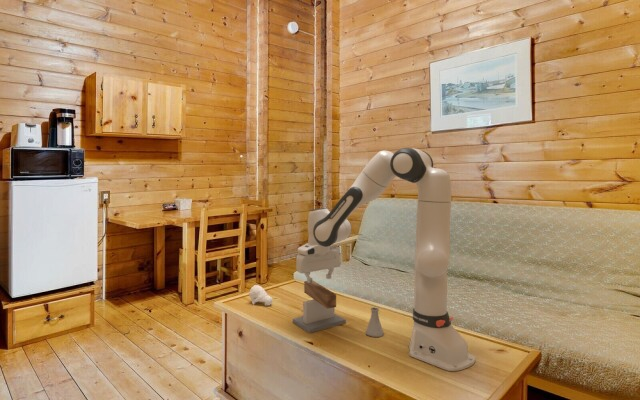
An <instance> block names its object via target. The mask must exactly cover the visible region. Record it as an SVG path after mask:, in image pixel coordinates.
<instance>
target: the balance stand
mask: <svg viewBox="0 0 640 400" xmlns="http://www.w3.org/2000/svg"><path fill="white" fill-rule="evenodd" d="M346 322H347V319H346V318H344V317H342V316H340V315H338V314H336V313H335V307H334V308H328V309H327V308H325V307H324V306H323V305H321V304H320V303H318V302H317V301H316V300H314V299H313V298H312V299H309V300H305V301H303V302H302V316H300V317H299V316H298V317H295V318H292V323H293V324H294V325H296V326H297V327H299V328H301V329H302V330H303V331H305V332H306V333H308V334H310V333H316V332H318V331H323V330H326V329H328V328H333V327H336V326H340V325H344V324H346Z"/></svg>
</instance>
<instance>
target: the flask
mask: <svg viewBox="0 0 640 400" xmlns="http://www.w3.org/2000/svg"><path fill="white" fill-rule="evenodd" d="M379 310H380V308H379V307H376V306H374V307H370V311H371V314H370V319H369V322H368V325H367V327H366V329H365V335H366V336H369V337H374V338H376V337H377V338H381V337H382V336H384V335H385V333H384V330H383V327H382V323H381V321H380V316H379Z"/></svg>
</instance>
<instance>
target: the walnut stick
mask: <svg viewBox="0 0 640 400" xmlns="http://www.w3.org/2000/svg"><path fill="white" fill-rule="evenodd" d="M303 282H304V283H303V284H304V285H303V289H304V293H305V294H306V295H307V296H308V297H309V298H311V299H312V300H313V299H314V300H316V301H317V302H318V303H320V304H321V305H323V306H324V307H325V308H327V309H328V308H334V309H335V308H337V294H336V293H334V292H333V291H331V290H329V289H328V288H326V287H324V286H323V285H321V284H320V283H318V282H317V281H315V280H313V279H312V282H311V283H308V282H307V280H305V281H303Z"/></svg>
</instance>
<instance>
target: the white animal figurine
mask: <svg viewBox="0 0 640 400" xmlns="http://www.w3.org/2000/svg"><path fill="white" fill-rule="evenodd" d="M248 295H249V298H250V300H251V303H252V305H253V306H255V305H256V303H264V306H271V304H272V303H273V301H274V300H273V297H272V296H270V295H269V294H268V292H266V290H265V289H264V287H262V286H261V285H259V284H255V285H253V286H251V288H250V290H249V293H248Z"/></svg>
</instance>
